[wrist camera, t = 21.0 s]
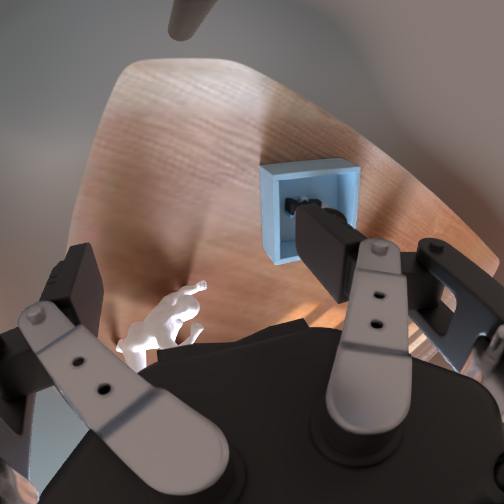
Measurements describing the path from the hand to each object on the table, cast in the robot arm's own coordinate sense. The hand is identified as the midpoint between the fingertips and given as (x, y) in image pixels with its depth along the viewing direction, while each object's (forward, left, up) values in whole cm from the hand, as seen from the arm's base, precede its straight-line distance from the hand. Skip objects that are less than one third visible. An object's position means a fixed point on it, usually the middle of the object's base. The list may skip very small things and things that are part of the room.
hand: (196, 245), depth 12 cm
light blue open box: (+12, +18, -30) cm, 37 cm away
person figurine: (+26, -6, -30) cm, 40 cm away
